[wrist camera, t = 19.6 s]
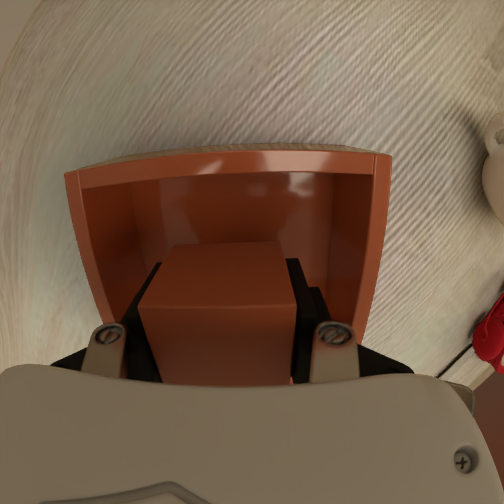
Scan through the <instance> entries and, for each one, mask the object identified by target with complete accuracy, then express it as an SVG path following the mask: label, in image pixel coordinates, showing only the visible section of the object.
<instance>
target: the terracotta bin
mask: <svg viewBox="0 0 504 504" xmlns="http://www.w3.org/2000/svg"><path fill="white" fill-rule="evenodd" d="M391 170H392V156H391V155H388V154H384V153H380V152H375V151H371V150H366V149H361V148H356V147H351V146H346V145H333V144H309V143H253V144H229V145H213V146H199V147H188V148H178V149H169V150H161V151H153V152H146V153H139V154H133V155H126V156H120V157H117V158H113V159H109V160H106V161H102V162H99V163H95V164H92V165H88V166H85V167H82V168H79V169H76V170H73V171H70V172H67V173H65V174H64V178H65V185H66V191H67V197H68V203H69V208H70V213H71V218H72V222H73V227H74V231H75V235H76V240H77V244H78V247H79V251H80V255H81V259H82V262H83V266H84V269H85V272H86V276H87V279H88V282H89V285H90V288H91V291H92V294H93V297H94V300H95V303H96V306H97V308H98V311H99V314H100V316H101V319H102V322H103V324H105V323H109V322H119V323H120V321H121V319H122V317H123V316H124V314H125V312H126V311H127V309H128V307H129V305H130V304H131V302H132V300H133V299H134V297H135V295H136V294H137V292H138V291H139V290H140V289H141V287H142V285H143V284H144V282H145V280H146V279H147V277H148V276H149V274H150V272H151V271H152V269H153V268H154V266H155V264H156V263H157V262H163V261H164V259H165V258H166V256H167V254H168V253H169V251H170V249H171V248H172V246H173V245H184V244H211V243H241V242H273V241H279V242H281V245H282V249H283V253H284V257H285V258H298V259H299V261H300V264H301V267H302V270H303V272H304V275H305V278H306V281H307V284H308V287H317V286H318V287H319V288H320V291H321V293H322V296H323V298H324V301H325V303H326V306H327V308H328V311H329V313H330V316H331V318H332V320H336V321H342V322H344V323H347V324H348V325H350V326H351V327H352V328H353V329H354V330H355V333H356V339H357V344H359V345H361V343H362V339H363V336H364V332H365V328H366V324H367V321H368V317H369V313H370V308H371V304H372V300H373V295H374V291H375V286H376V281H377V276H378V271H379V266H380V260H381V255H382V249H383V242H384V236H385V229H386V221H387V213H388V205H389V195H390V184H391ZM290 384H293V380H292V377H291V378H290Z"/></svg>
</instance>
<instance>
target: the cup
mask: <svg viewBox="0 0 504 504" xmlns="http://www.w3.org/2000/svg"><path fill="white" fill-rule="evenodd" d="M501 129H504V112H502V113H498V114H496V115H494V116H493V117H492V118H491V120H490V121H489V123H488V125H487V128H486V131H485V145H486V148H487V150H488V153H489V155H488V156H487V158H486V160H485V162H484V165H483V170H482V186H483V190H484V193H485V195H486V198H487V200H488V202H489V204H490V206H491V208H492V210H493V212H494V214H495V215H496V217H497V218H498V220H499V221H500V223H501V224H502V225H503V227H504V142H503V143H502V144H498V143H497V141H496V138H495V136H496V133H497V131H498V130H501Z"/></svg>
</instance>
